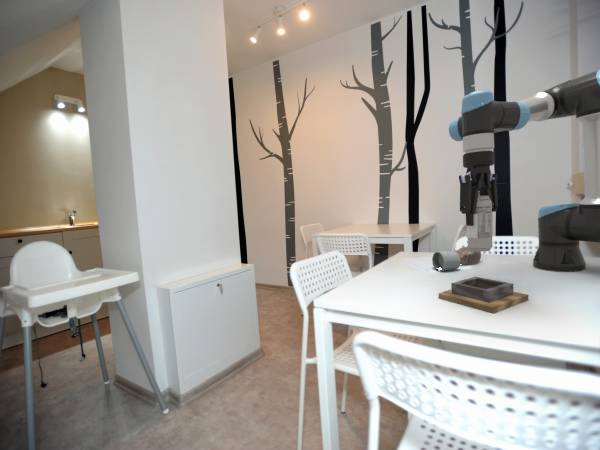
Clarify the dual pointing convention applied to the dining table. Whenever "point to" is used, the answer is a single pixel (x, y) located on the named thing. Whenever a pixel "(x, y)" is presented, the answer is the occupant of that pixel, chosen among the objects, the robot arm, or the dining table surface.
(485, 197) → the energy drink can
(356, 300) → the dining table surface
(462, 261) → the seashell
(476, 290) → the board
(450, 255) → the ceramic mug
